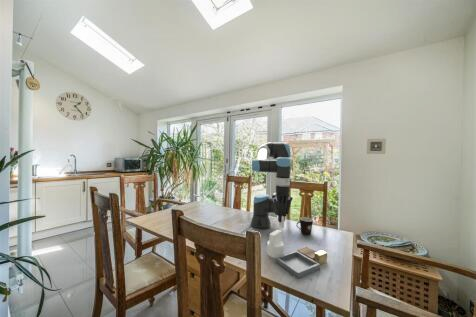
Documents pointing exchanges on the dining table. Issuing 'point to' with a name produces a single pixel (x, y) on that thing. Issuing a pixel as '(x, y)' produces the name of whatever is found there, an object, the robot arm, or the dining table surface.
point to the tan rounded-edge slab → (307, 252)
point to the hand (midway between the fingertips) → (281, 227)
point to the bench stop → (320, 257)
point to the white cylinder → (275, 244)
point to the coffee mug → (305, 225)
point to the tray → (297, 264)
